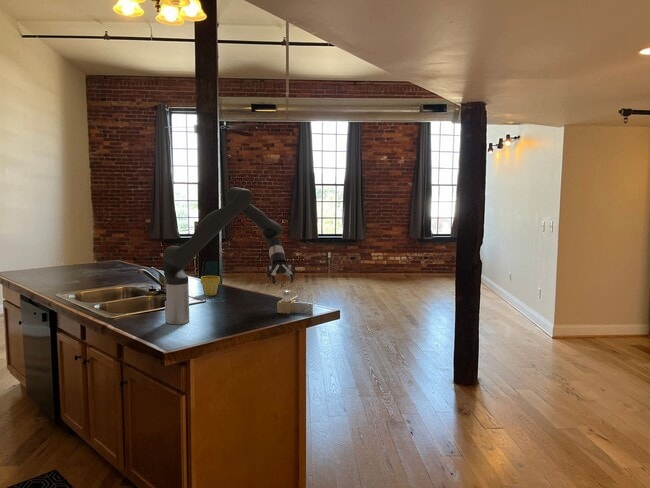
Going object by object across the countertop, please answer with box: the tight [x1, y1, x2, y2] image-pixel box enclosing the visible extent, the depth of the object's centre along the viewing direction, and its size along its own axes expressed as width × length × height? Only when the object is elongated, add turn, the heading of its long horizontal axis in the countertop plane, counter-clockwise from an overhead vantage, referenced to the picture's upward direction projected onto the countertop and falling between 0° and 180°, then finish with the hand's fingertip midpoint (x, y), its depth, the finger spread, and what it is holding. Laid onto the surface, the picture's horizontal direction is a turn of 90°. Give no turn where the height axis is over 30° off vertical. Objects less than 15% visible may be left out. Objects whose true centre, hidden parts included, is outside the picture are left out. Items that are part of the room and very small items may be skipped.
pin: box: [280, 289, 292, 303], centre depth 231 cm, size 5×5×10 cm
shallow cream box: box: [276, 295, 314, 315], centre depth 233 cm, size 17×17×5 cm
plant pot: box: [200, 275, 221, 296], centre depth 269 cm, size 10×10×10 cm
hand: (283, 282), depth 235 cm, fingers open, 8 cm apart
